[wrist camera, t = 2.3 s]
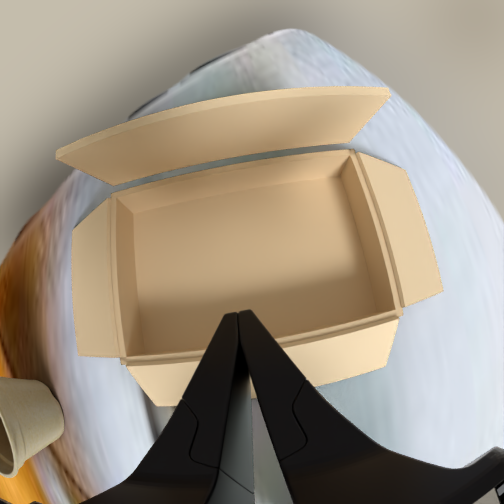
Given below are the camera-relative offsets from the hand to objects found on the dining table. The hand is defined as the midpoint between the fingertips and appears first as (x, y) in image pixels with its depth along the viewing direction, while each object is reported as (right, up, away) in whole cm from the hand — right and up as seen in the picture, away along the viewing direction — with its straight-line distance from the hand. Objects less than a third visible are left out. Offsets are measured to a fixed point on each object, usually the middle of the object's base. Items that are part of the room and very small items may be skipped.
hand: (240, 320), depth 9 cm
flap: (-1, +9, +9) cm, 13 cm away
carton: (0, 0, +11) cm, 11 cm away
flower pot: (-20, -13, +9) cm, 25 cm away
